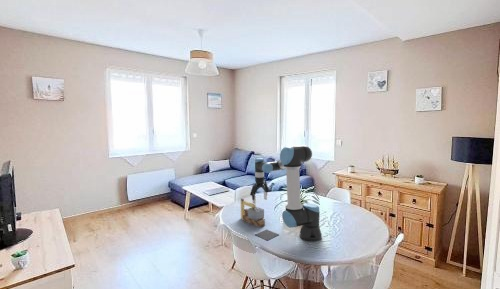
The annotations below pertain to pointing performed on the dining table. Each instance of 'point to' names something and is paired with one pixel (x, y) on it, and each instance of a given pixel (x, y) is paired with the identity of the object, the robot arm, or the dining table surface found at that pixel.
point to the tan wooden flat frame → (247, 205)
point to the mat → (267, 234)
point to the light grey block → (256, 213)
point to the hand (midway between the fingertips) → (259, 201)
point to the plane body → (257, 223)
